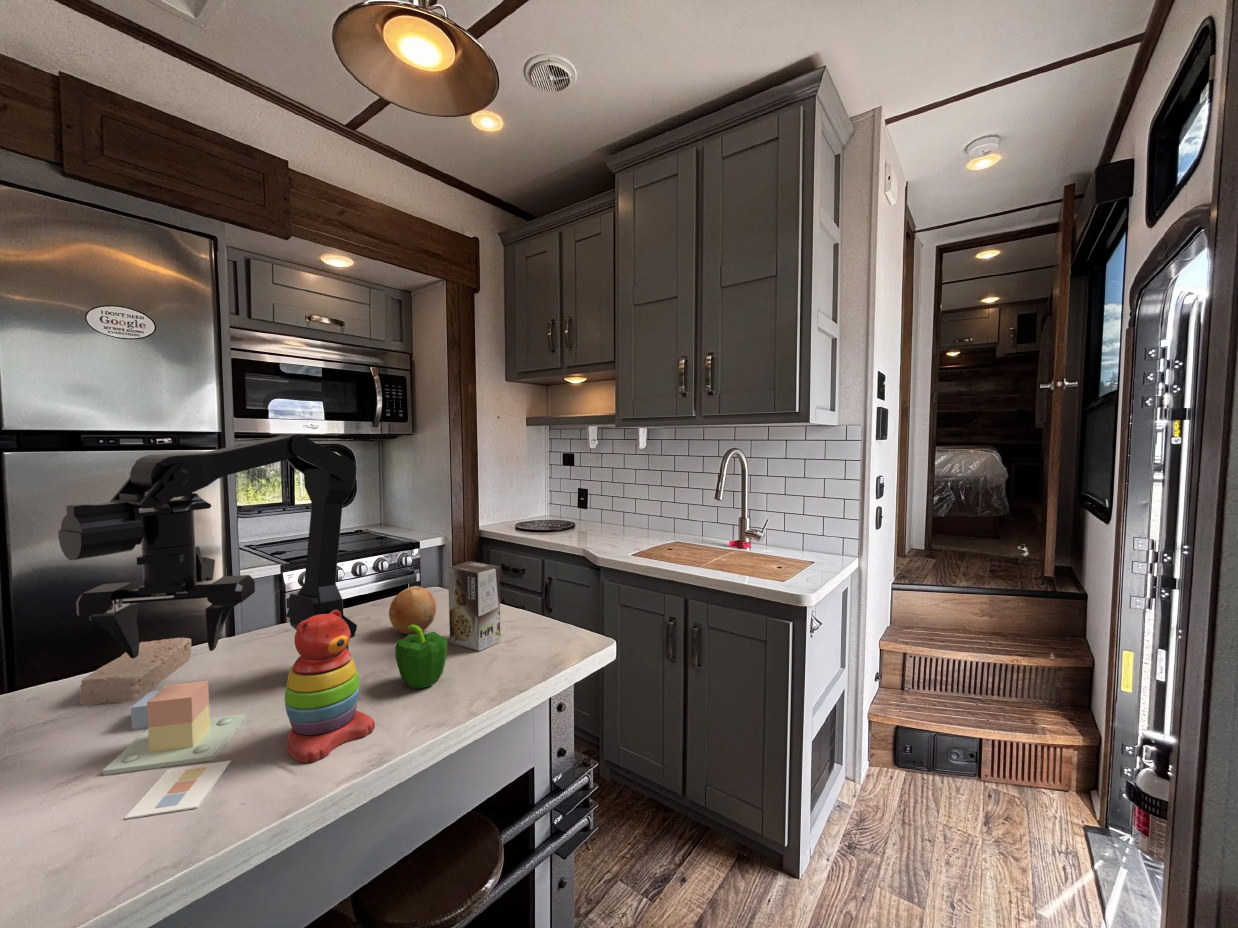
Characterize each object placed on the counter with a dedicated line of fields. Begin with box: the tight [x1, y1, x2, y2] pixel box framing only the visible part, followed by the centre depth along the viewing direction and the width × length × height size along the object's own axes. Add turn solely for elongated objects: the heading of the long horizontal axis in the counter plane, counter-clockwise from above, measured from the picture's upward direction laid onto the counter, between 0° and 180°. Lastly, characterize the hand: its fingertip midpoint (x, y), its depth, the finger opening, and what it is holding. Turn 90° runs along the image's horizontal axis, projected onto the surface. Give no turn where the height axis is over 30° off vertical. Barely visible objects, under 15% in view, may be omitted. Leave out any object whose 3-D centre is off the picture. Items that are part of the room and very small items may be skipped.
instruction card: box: [124, 760, 232, 820], centre depth 65 cm, size 7×9×1 cm
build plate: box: [102, 704, 247, 776], centre depth 75 cm, size 12×11×4 cm
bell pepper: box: [394, 625, 448, 689], centre depth 93 cm, size 8×8×10 cm
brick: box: [79, 637, 192, 706], centre depth 94 cm, size 17×8×5 cm, turn 13°
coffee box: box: [447, 560, 501, 652], centre depth 111 cm, size 9×6×16 cm
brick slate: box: [130, 689, 162, 730], centre depth 81 cm, size 5×5×4 cm
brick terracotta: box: [147, 680, 210, 729], centre depth 74 cm, size 5×5×4 cm
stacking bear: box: [284, 610, 376, 764], centre depth 76 cm, size 11×10×18 cm
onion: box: [388, 585, 437, 635], centre depth 116 cm, size 10×10×10 cm
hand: (174, 653), depth 75 cm, fingers open, 9 cm apart
